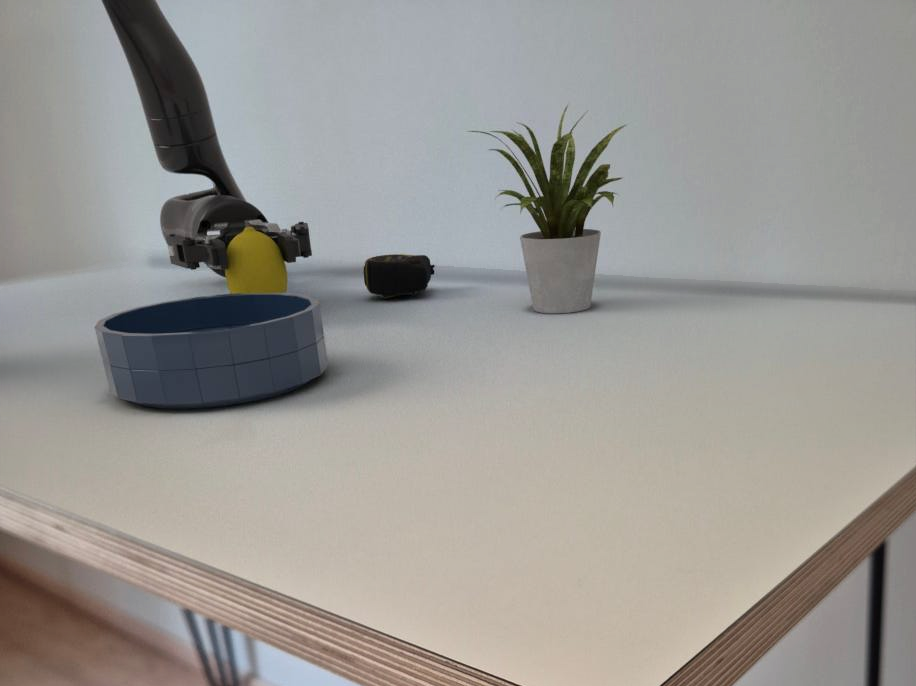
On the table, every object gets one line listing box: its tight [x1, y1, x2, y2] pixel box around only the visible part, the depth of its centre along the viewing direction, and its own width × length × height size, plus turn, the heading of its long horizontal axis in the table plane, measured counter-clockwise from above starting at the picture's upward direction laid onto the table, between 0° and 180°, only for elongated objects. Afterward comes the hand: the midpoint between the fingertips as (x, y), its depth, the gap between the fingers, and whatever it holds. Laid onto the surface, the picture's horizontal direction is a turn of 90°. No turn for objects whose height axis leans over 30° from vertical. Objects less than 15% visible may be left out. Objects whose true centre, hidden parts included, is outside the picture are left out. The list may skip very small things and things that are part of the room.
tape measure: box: [363, 253, 435, 300], centre depth 98 cm, size 7×7×4 cm
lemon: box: [225, 227, 288, 294], centre depth 88 cm, size 6×6×8 cm
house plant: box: [468, 101, 629, 314], centre depth 83 cm, size 14×14×16 cm
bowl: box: [94, 292, 329, 410], centre depth 68 cm, size 15×15×5 cm
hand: (257, 253), depth 85 cm, fingers closed on lemon, 5 cm apart
